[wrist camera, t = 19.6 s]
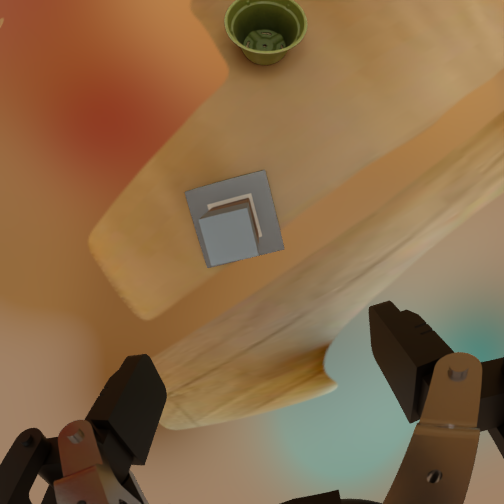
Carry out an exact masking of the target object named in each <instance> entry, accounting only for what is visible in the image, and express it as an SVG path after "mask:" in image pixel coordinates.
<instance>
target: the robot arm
mask: <svg viewBox="0 0 504 504" xmlns="http://www.w3.org/2000/svg"><path fill="white" fill-rule="evenodd" d="M369 322H370V335H371V347H372V351H373V355H374V358H375V360H376V362H377V364H378V365H379V367H380V369H381V371H382V372H383V374H384V376H385V378H386V380H387V381H388V383H389V385H390V387H391V389H392V391H393V392H394V394H395V396H396V398H397V400H398V402H399V404H400V406H401V408H402V409H403V411H404V413H405V415H406V417H407V419H408V421H409V423H413V422H415V421H417V420H420V421H419V423H417V425H416V427H415V430H414V433H413V436H412V438H411V441H410V443H409V446H408V449H407V451H406V454H405V456H404V459H403V461H402V463H401V466H400V468H399V471H398V473H397V475H396V477H395V479H394V481H393V484H392V486H391V488H390V490H389V492H388V494H387V496H386V498H385V500H384V502H383V504H463V503H464V500H465V497H466V493H467V490H468V486H469V483H470V479H471V474H472V470H473V466H474V462H475V457H476V453H477V447H478V442H479V435H480V432H481V431H485V430H488V432H489V433H490V435H491V437H492V438H493V440H494V442H495V444H496V445H497V447H498V449H499V451H500V452H501V454H502V456H503V458H504V357H503V358H499V359H495V360H490V361H486V362H480V361H479V360H478V359H477V358H476V357H475V356H473V355H470V354H468V353H461V352H460V353H459V352H457V353H454V352H453V350H452V349H451V348H450V347H449V346H448V345H447V344H446V343H445V342H444V341H443V340H442V339H441V338H440V337H439V336H438V334H437V333H436V332H435V331H433V330H432V328H431V327H430V326H429V325H428V324H426V322H425V321H424V320H423V319H422V318H421V317H420V316H419V315H418V314H416V313H413V312H411V311H409V310H404V311H401V312H400V311H399V309H398V308H397V307H396V306H395V305H394V304H393V303H392V302H391V301H387V302H383V303H380V304H376V305H373V306H370V307H369ZM166 398H167V393H166V388H165V385H164V383H163V382H162V380H161V378H160V376H159V374H158V372H157V370H156V368H155V366H154V364H153V362H152V360H151V358H150V357H149V356H148V355H147V354H142V355H133V356H128V357H127V358H126V359H125V361H124V362H123V364H122V365H121V367H120V369H119V370H118V371H117V372H116V373H115V374H113V375H112V376H111V377H110V378H109V380H108V382H107V383H106V385H105V386H104V389H103V390H102V391H101V393H100V396H98V398H97V400H96V401H95V403H94V405H93V407H92V408H91V410H90V411H89V413H88V415H87V417H86V418H85V420H77V421H73V422H71V423H69V424H67V425H66V426H65V427H64V428H63V429H62V430H61V432H60V433H59V436H58V437H54V438H46V437H45V436H44V435H43V434H42V432H41V431H40V430H39V429H37V428H30V429H27V430H25V431H23V432H22V433H21V434H20V435H19V436H18V437H17V438H16V440H15V441H14V443H13V445H12V446H11V448H10V449H9V451H8V453H7V454H6V456H5V458H4V459H3V461H2V463H1V465H0V504H32V503H31V501H30V499H29V491H30V489H31V487H32V485H33V483H34V481H35V479H36V476H37V474H39V475H40V476H41V477H42V478H43V479H44V480H45V481H46V482H47V483H48V484H49V487H48V489H47V491H46V493H45V496H44V498H43V501H42V503H41V504H149V503H148V501H147V500H146V498H145V496H144V494H143V492H142V490H141V489H140V487H139V484H138V483H137V480H136V479H135V476H134V474H133V473H132V472H131V471H130V470H129V469H130V466H131V465H145V462H146V459H147V456H148V453H149V450H150V447H151V444H152V441H153V437H154V435H155V432H156V429H157V426H158V423H159V420H160V417H161V414H162V411H163V408H164V405H165V402H166ZM281 504H382V503H378V502H374V501H369V500H362V499H340V495H339V490H335V491H331V492H327V493H322V494H317V495H312V496H307V497H301V498H296V499H292V500H289V501H286V502H284V503H281Z"/></svg>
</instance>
